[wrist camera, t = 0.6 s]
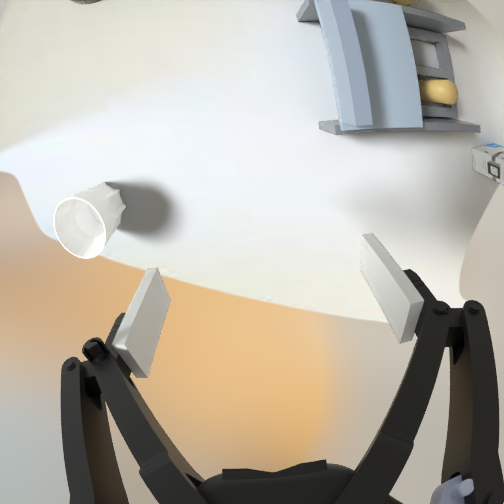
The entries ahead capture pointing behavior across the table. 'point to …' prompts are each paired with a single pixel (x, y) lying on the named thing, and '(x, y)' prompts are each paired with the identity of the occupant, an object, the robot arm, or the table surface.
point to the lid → (370, 64)
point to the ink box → (489, 161)
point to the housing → (424, 29)
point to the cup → (88, 220)
